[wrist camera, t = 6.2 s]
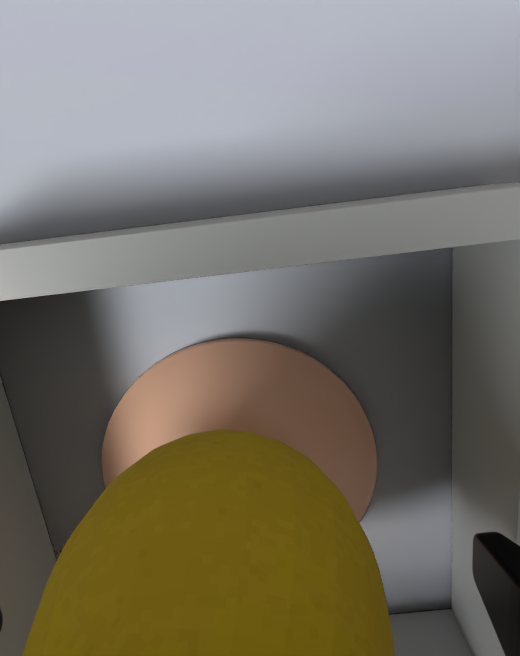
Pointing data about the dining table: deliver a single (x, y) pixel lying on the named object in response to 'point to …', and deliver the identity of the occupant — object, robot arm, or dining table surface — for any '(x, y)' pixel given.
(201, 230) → the corral
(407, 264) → the dining table surface
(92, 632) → the lemon
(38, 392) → the dining table surface
